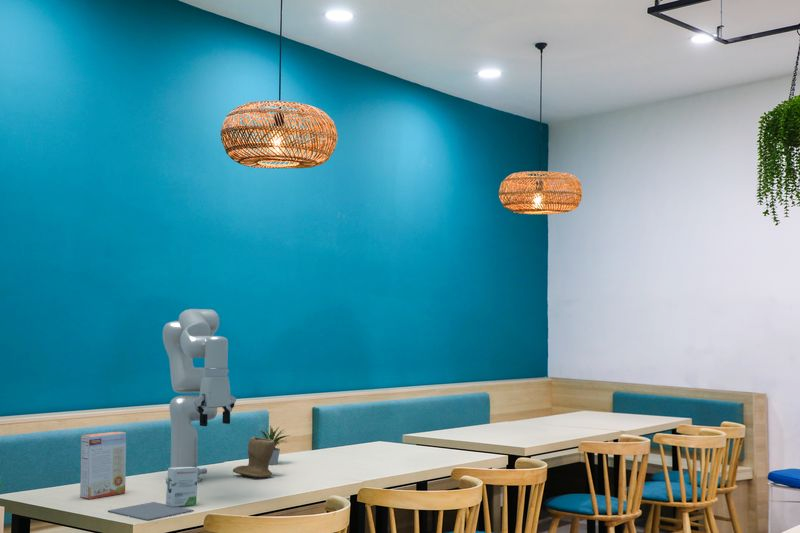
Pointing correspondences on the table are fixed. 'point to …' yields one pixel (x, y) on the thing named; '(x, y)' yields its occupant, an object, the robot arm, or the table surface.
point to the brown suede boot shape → (257, 458)
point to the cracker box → (103, 464)
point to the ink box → (182, 486)
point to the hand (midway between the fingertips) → (215, 424)
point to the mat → (150, 511)
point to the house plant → (276, 450)
